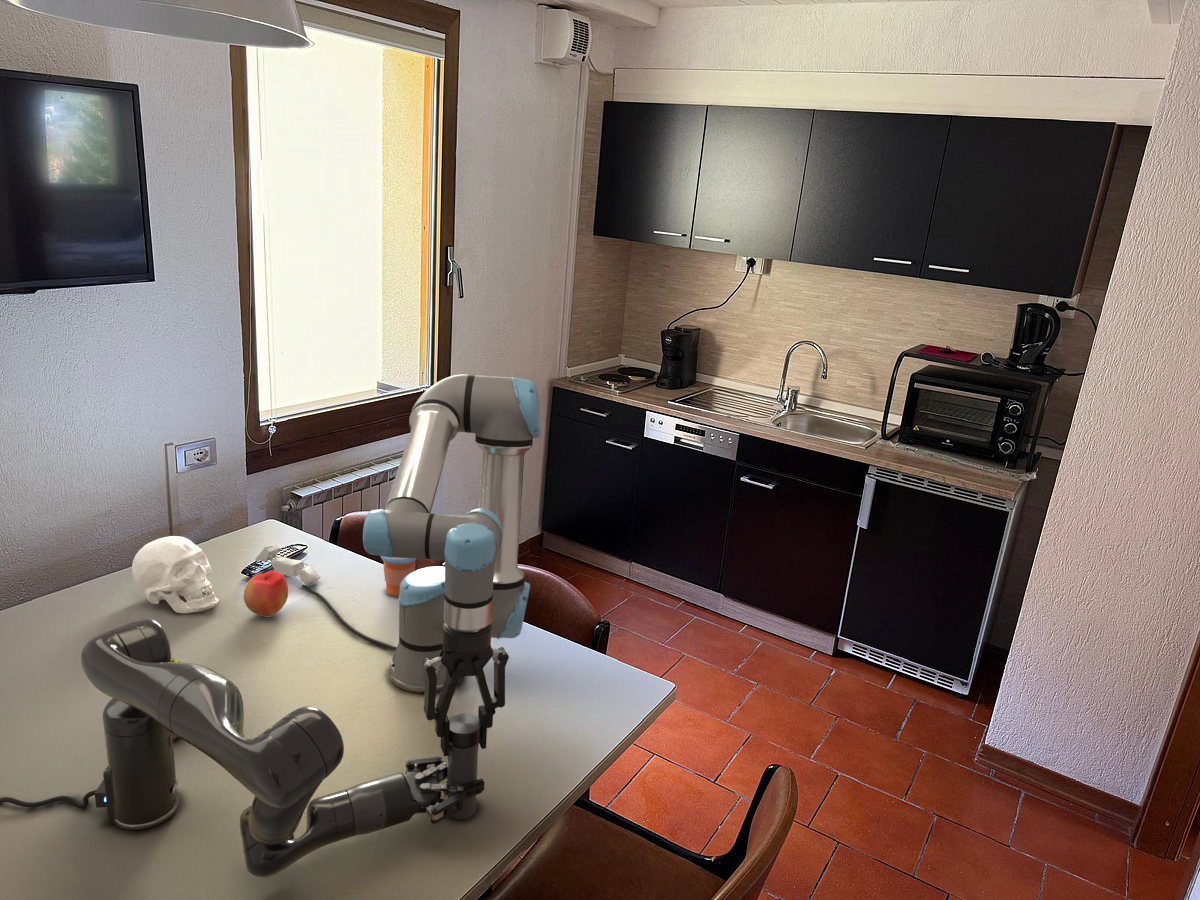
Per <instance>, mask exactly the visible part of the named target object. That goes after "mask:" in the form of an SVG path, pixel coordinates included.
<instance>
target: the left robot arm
mask: <svg viewBox="0 0 1200 900" xmlns="http://www.w3.org/2000/svg"><path fill="white" fill-rule="evenodd" d="M80 653H81V655H80V663H81V667H82V670H83V673H84V674H85V676H86V678H87V680H88V681H89V682H90V683H91V684H92V685H93V687H94V688H95V689H97V690H98V691H99V692H101V693H102V694H104V695H105V696H108V697H110V698H111V699H109V701H108V702H107V703H106V704H105V706H104V709H103V711H102V724H103V731H104V740H105V748H106V758H107V766H106V768H105V769H104V771H103V772H102V774H103V775H102V776H103V780H102V781H101V783H100V785H98V787H97V789H94V790H92V791H88V792H87V793H86V794H84V796H83V797H82V801H79V800H78V799H77V798H75V797H72V796H69V795H59V796H53V797H51V798H48V799H44V800H40V801H33V802H32V801H31V802H29V801H23V800H20V799H17V798H14V797H10V796H4V797H0V804H2V803H9V804H13V805H15V806H19V807H23V808H39V807H43V806H46V805H49V804H53V803H57V802H58V803H59V802H68V803H71V804H72V805H74V806H75V807H78V808H81V809H84V808H87V807H88V806H89V805H90V804H89V799H90V798H91V797H94V801H95V808H99V809H101V808H102V809H103V808H105V809H106V813H107V822H108V824H115V825H116V826H117V827H119V828H121V829H122V830H127V831H141V830H146V829H147V830H148V829H150V828H154V827H156V826H159V825H160V824H162V823H164V822H166V821H168V819H170V818H171V817H172V816H173V815H174V814H175V813H176V811H177V810H178V806H179V802H180V801H179V793H178V785H179V778H177V775H176V774H177V772H176V763H175V749H174V740H173V736H172V733H173V734H174V735H176V736H177V737H176V738H179V739H180V740H182V741H184V742H185V743H187V744H189V745H191V746H192V747H194V748H195V749H197V750H198V751H200V752H201V753H202V754H204V755H206V756H207V757H208V758H210V759H211V760H212V761H214V762H215V763H216V764H218V765H219V766H221V767H222V768H223V769H224V770H225V771H226V772H228V774H229V775H231V776H232V777H233V778H234V779H235V780H236V781H238V782H239V783H240V785H242V786H243V787H244V788H245V789H247V790H248V791H249V792H250V793H251V794H253V795H254V798H253V800H252V802H251V805H249V806H247V807H246V808H245V809H244V810H243V811H242V812H241V814H240V816H239V831H240V836H241V843H242V851H243V855H244V861H245V867H246V870H247V871H248V873H249V874H250V875H251V876H254V877H257V878H268V877H272V876H273V877H274V876H275V875H278V874H279V873H281V872H282V871H285V870H286V869H287V868H289V867H290V866H292V865H293V864H295V863H297V862H298V861H300V860H301V859H303V858H304V857H307V855H310V854H311V853H313V852H315V851H317V850H319V849H321V848H323V847H326V846H328V845H330V844H333V843H337V842H340V841H344V840H346V839H349V838H352V837H357V836H362V835H367V834H371V833H374V832H377V831H381V830H384V829H387V828H390V827H393V826H396V825H400V824H403V823H406V822H408V821H410V820H411V819H412V818H413V816H414V815H417V814H427V815H428V816H429V817H430V823H431V824H432V825H437V824H439V823H441V822H443V821H444V820H446V819H449V818H451V817H450V816H452V815H454V814H456V813H458V812H459V811H461V810H463V808H464V799H465V798H468V797H471V796H475V795H476V796H477V795H481V794H482V793H483V792H484V791H485V786H486V785H485V784H486V783H485V780H484V778H477V780H474V781H471V782H468V783H464V784H462V785H456V786H449V784H447V782H446V783H445V782H444V783H442V782H443V781H445V780H447V770H448V761H443V758H442V757H441V756H433V757H432V756H431V757H425V758H417V759H416V758H415V759H408V760H407V761H406V762H405V774H404V773H403V772H396V773H392V774H388V775H386V776H381V777H379V778H378V777H377V778H375V779H371V780H367V781H364V782H361V783H358V784H355V785H353V786H351V787H349V788H345V789H342V790H339V791H335V792H332V793H329V794H324V795H321V796H318V797H316V798H313V799H312V797H313V796H314V794H315V793H316V791H317V790H318V788H319V787H320V786H321V784H322V782H323V781H324V780H326V779H327V778H328V777H329V776H330V775H331V774H332V773H333V772H334V771H335V770H336V768H337V767H338V766H339V765H340V763H341V762H342V760H343V757H344V754H345V753H344V752H345V744H344V739H343V736H342V734H341V731H340V729H339V728H338V727H337V725H336V723H334V721H333V720H332V719H331V718H330V716H328V715H327V714H326V713H325V712H324V711H322V710H321V709H319V708H317V707H314V706H307V705H306V706H301V707H299V708H296V709H294V710H293V711H291V712H290V713H288V714H286V715H285V716H284V717H282V718H281V719H279V720H278V721H276V723H274V724H273V725H271V726H270V727H268V728H267V729H266V730H264V731H263V732H261V734H259V735H258V736H256V737H254V738H246V737H245V735H244V725H245V724H244V723H245V713H244V711H245V709H244V701H243V697H242V694H241V692H240V689H239V687H237V685H236V684H235V683H234V682H233V681H232V680H230V679H228V678H227V677H226V676H224V675H222V674H220V673H218V672H216V671H214V670H213V669H212V668H210V667H207V666H205V665H201V664H197V663H190V662H181V663H176V662H174V663H171V658H172V651H171V645H170V641H169V637H168V635H167V632H166V630H165V629H164V627H163V626H162V624H160V622H158V621H157V620H155V619H153V618H142V619H139V620H135V621H133V622H130V623H127V624H124V625H120V626H118V627H115V628H112V629H109V630H107V631H104V632H101V633H99V634H97V635H94V636H93V637H92V638H90V639H89V640H88V641H87V642H86V643H85V644H84V646H83V647H82V650H81V652H80ZM429 765H430V767H428V766H429ZM431 765H432V766H431ZM442 793H443V797H442ZM449 793H456V795H454V796H449ZM454 804H456V805H454ZM453 805H454V806H453ZM452 806H453V807H452ZM305 810H306V827H305V832H304V833H302V834H301V836H299V837H297V838H295V836H294V835H295V832H296V831H297V829H298V827H299V825H300V822H301V820H302V817H303V815H304V812H305Z"/></svg>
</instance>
